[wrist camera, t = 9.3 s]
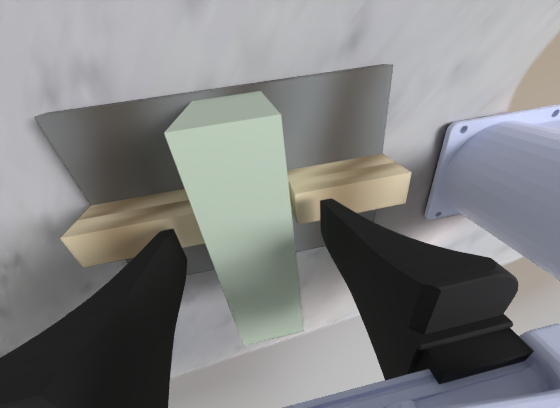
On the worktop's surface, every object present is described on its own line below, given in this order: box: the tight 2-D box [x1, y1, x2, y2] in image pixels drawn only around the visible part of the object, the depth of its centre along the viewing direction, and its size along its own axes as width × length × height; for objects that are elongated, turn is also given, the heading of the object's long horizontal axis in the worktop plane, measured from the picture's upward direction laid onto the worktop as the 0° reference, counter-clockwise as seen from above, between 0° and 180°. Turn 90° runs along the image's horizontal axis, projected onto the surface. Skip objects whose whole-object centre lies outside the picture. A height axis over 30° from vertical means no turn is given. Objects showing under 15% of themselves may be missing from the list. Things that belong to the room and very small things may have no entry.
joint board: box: [34, 64, 412, 275], centre depth 14 cm, size 18×12×4 cm, turn 97°
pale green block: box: [164, 91, 304, 345], centre depth 13 cm, size 12×4×6 cm, turn 7°
